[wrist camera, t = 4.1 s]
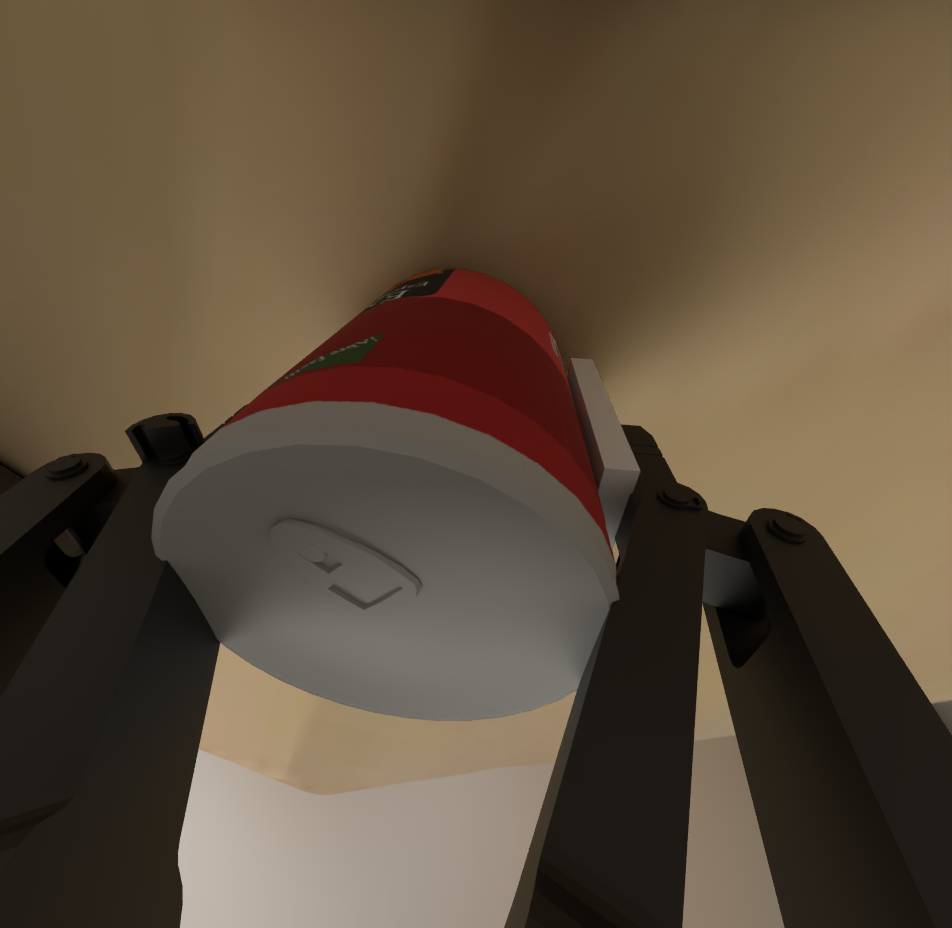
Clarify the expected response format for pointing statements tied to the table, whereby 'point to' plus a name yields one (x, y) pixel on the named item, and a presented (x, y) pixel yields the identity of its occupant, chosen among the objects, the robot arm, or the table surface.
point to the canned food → (405, 513)
